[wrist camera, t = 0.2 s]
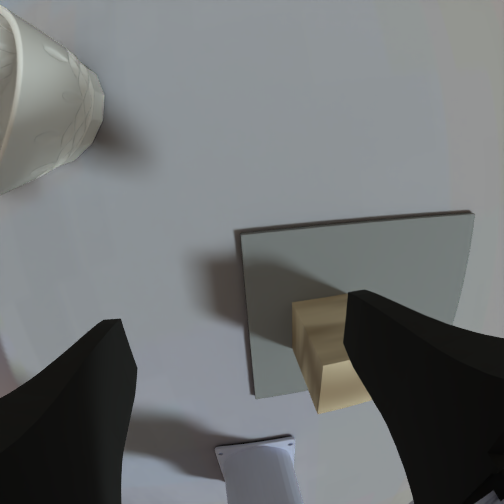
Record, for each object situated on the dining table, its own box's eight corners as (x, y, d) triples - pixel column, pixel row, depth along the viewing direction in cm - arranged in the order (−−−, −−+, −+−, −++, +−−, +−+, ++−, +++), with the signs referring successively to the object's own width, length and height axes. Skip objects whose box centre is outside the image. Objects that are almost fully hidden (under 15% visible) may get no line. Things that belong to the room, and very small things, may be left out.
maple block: (342, 339, 22) (378, 397, 16) (292, 348, 22) (317, 414, 16) (347, 293, 21) (391, 349, 15) (292, 302, 20) (323, 365, 14)
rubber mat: (441, 349, 26) (443, 351, 25) (255, 395, 24) (255, 399, 23) (471, 212, 21) (475, 214, 20) (240, 233, 19) (241, 235, 18)
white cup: (76, 29, 13) (-13, -31, 3) (140, 116, 15) (63, 96, 6) (-6, 116, 13) (-114, 124, 4) (49, 201, 16) (-55, 261, 7)
